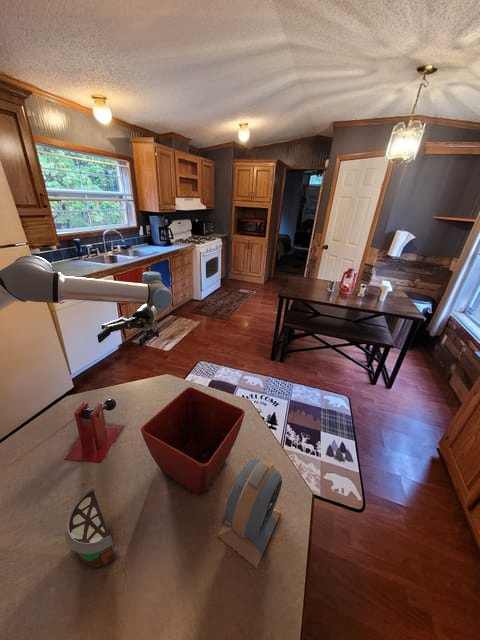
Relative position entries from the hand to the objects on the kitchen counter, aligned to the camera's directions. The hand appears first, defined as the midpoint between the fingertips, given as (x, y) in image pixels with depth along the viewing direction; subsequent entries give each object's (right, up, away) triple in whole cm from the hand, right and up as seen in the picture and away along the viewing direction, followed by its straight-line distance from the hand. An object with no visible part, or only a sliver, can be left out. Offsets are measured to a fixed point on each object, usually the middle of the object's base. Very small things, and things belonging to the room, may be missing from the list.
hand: (119, 341), depth 82 cm
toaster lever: (-2, -21, -8) cm, 23 cm away
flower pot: (+27, -34, -12) cm, 44 cm away
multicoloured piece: (+9, -40, -31) cm, 51 cm away
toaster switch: (-3, -30, -9) cm, 31 cm away
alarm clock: (+41, -40, -24) cm, 63 cm away
